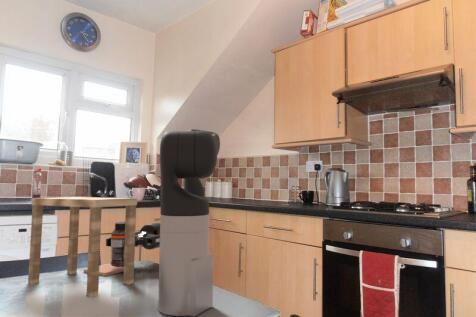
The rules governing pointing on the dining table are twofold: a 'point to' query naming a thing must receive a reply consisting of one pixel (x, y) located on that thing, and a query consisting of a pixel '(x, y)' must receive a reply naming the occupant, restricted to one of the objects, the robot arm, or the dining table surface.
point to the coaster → (108, 269)
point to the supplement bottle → (118, 245)
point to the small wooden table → (94, 236)
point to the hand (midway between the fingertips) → (115, 243)
